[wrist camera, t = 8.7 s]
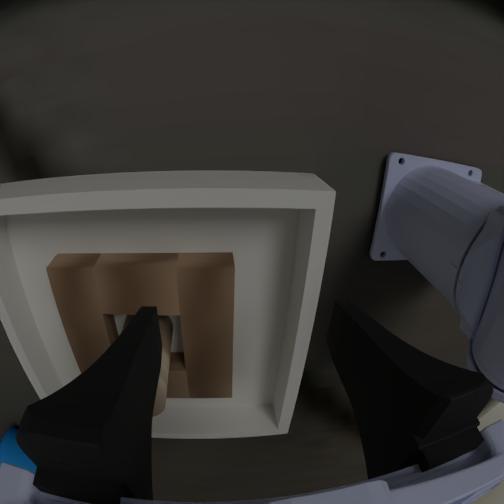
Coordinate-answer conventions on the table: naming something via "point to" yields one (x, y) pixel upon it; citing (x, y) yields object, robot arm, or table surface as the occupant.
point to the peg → (166, 337)
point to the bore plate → (153, 294)
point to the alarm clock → (14, 451)
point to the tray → (178, 241)
